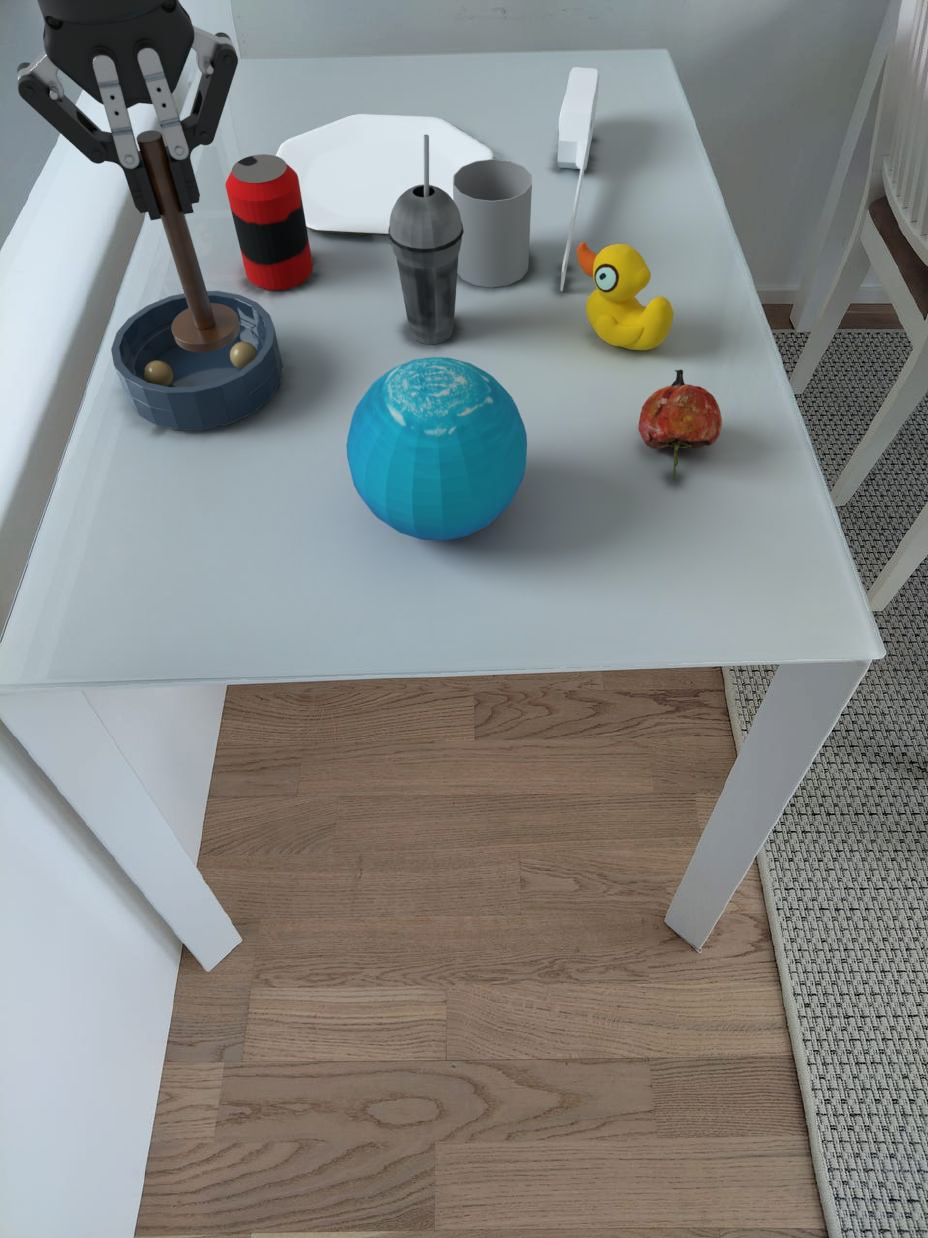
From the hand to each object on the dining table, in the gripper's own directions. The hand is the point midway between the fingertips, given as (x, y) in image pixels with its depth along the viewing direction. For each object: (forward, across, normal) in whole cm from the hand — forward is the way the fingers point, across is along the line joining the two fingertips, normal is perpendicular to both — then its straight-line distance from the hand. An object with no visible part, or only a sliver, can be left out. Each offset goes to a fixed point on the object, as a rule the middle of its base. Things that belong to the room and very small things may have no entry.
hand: (171, 209), depth 62 cm
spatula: (+28, +44, +36) cm, 64 cm away
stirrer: (+10, 0, 0) cm, 10 cm away
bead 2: (+25, +2, +17) cm, 31 cm away
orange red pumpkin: (+28, +38, -7) cm, 48 cm away
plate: (+28, +24, +48) cm, 61 cm away
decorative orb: (+28, +15, -8) cm, 33 cm away
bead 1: (+25, -6, +17) cm, 31 cm away
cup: (+28, +32, +26) cm, 50 cm away
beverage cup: (+28, +22, +17) cm, 39 cm away
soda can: (+28, +9, +33) cm, 44 cm away
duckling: (+28, +40, +10) cm, 50 cm away
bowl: (+27, -2, +17) cm, 32 cm away
